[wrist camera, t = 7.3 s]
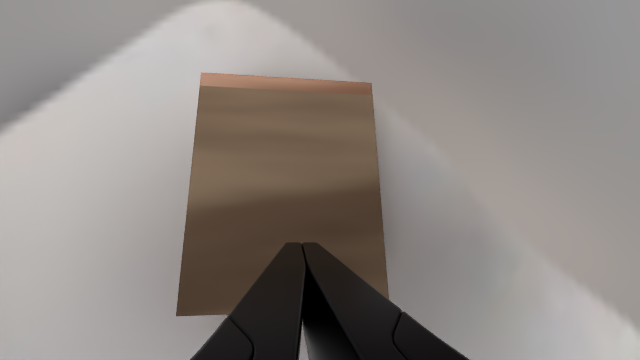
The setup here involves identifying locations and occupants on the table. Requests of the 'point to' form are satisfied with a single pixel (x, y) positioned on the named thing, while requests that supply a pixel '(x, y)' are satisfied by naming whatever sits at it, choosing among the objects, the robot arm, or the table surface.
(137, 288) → the table surface
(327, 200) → the walnut block
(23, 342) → the table surface
